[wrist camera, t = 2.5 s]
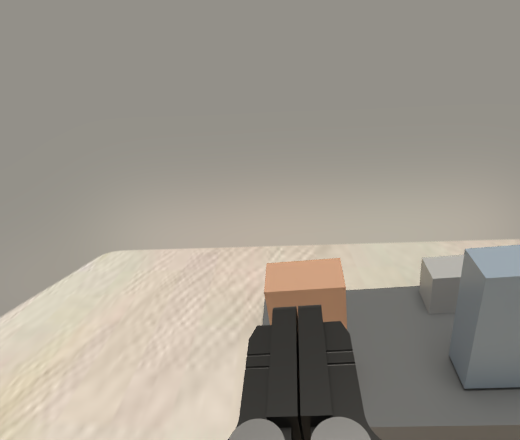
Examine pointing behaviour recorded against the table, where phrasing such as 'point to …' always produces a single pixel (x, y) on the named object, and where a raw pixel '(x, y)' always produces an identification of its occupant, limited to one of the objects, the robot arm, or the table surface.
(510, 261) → the blue-gray rectangular block
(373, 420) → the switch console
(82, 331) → the table surface
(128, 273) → the table surface
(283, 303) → the orange rectangular block
